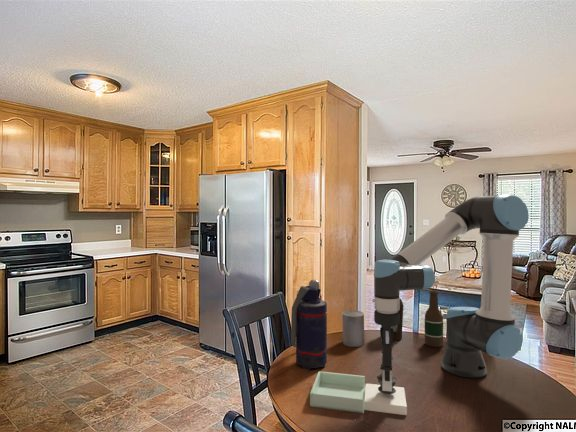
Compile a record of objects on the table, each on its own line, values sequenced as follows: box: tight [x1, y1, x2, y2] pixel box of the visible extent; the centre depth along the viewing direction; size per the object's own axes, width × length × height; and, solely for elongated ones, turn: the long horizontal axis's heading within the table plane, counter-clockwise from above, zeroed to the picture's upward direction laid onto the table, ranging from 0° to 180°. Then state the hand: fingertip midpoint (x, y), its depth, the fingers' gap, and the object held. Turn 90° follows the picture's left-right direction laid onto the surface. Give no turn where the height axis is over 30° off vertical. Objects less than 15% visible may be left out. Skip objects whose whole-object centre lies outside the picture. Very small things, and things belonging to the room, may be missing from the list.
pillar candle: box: [342, 309, 365, 348], centre depth 164 cm, size 10×10×15 cm
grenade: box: [290, 285, 328, 371], centre depth 140 cm, size 14×12×30 cm
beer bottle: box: [424, 289, 444, 348], centre depth 162 cm, size 8×8×24 cm
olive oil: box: [380, 298, 404, 342], centre depth 171 cm, size 11×11×25 cm
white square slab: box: [364, 383, 408, 416], centre depth 112 cm, size 12×12×2 cm
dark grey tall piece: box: [376, 354, 398, 394], centre depth 112 cm, size 6×6×12 cm
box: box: [309, 370, 366, 414], centre depth 116 cm, size 16×16×4 cm
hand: (386, 385), depth 112 cm, fingers closed on dark grey tall piece, 6 cm apart
